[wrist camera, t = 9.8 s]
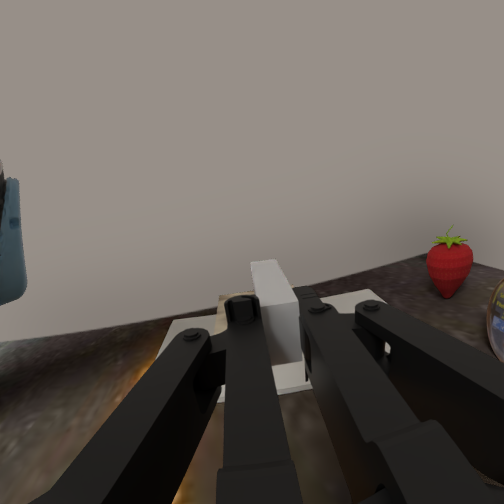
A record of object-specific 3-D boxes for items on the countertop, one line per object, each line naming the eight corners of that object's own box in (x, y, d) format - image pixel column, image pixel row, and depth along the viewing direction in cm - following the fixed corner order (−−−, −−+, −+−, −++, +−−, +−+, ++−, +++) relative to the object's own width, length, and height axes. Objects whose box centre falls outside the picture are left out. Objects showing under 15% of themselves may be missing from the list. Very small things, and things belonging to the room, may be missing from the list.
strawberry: (479, 297, 30) (483, 223, 28) (442, 313, 30) (446, 230, 28) (452, 286, 36) (453, 218, 34) (415, 298, 35) (415, 224, 33)
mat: (139, 406, 22) (137, 401, 22) (174, 323, 40) (173, 319, 40) (438, 351, 23) (439, 346, 23) (368, 292, 41) (368, 288, 40)
